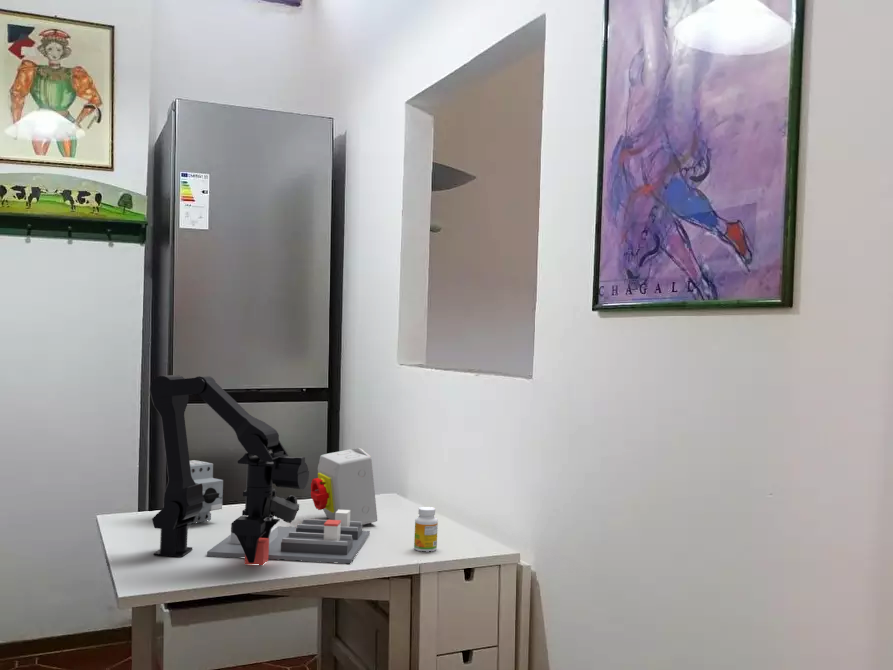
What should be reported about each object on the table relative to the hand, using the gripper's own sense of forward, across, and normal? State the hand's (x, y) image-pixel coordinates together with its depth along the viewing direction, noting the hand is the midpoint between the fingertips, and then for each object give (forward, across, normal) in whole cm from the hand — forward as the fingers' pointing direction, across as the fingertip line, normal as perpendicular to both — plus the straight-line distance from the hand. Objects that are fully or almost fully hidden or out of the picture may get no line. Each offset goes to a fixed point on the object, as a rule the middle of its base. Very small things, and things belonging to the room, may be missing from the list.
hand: (256, 557), depth 174 cm
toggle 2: (-2, +24, -14) cm, 28 cm away
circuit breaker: (+1, +34, +26) cm, 43 cm away
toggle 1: (-2, +10, -14) cm, 18 cm away
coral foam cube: (+1, 0, 0) cm, 1 cm away
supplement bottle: (+1, +19, -35) cm, 40 cm away
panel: (+1, +16, -4) cm, 17 cm away
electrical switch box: (+1, +42, -10) cm, 43 cm away
